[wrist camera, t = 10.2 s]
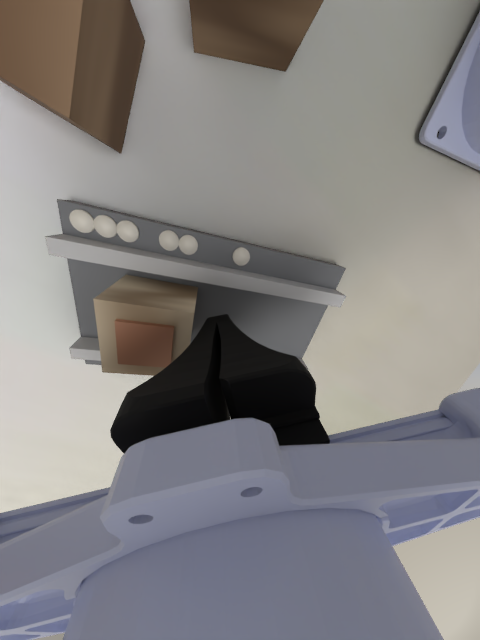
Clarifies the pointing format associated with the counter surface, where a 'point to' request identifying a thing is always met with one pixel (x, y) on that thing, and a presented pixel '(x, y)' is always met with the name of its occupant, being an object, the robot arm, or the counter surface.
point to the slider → (143, 324)
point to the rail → (194, 276)
